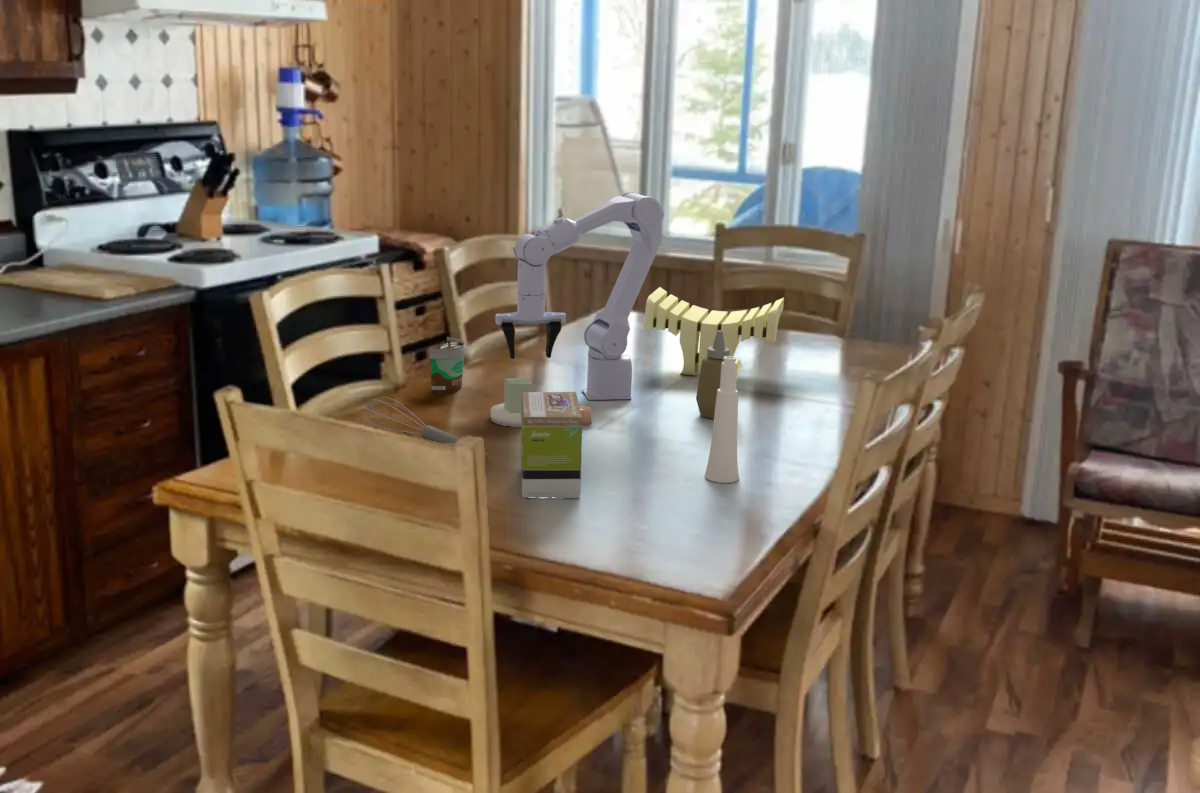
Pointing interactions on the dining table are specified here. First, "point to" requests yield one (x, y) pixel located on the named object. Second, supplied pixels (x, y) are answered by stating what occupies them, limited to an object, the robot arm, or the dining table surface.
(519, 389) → the sage block
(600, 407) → the dining table surface
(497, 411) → the stand
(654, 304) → the slatted curved stool
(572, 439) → the tea box
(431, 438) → the kitchen whisk
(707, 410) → the squeeze bottle
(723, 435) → the cosmetic bottle
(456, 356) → the food container
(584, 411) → the tan rounded knob
